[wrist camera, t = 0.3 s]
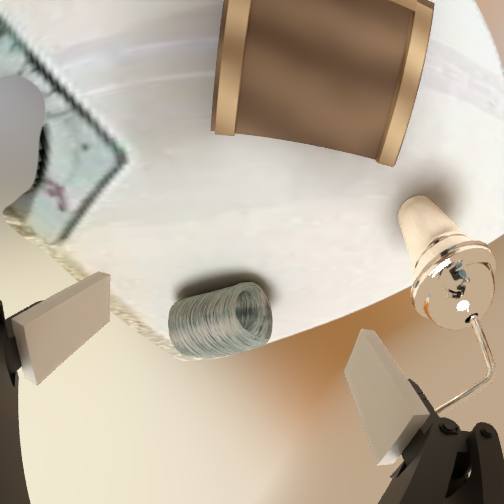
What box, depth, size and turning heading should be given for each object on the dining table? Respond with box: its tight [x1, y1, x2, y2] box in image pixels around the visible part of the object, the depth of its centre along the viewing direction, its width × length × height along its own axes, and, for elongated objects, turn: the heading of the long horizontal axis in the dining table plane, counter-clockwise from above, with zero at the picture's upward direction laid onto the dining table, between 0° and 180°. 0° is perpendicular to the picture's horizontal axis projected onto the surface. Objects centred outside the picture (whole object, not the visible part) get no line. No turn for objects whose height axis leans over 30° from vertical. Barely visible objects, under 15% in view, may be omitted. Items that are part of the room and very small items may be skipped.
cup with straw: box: [397, 195, 496, 416], centre depth 18 cm, size 8×9×20 cm
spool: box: [168, 282, 272, 358], centre depth 34 cm, size 14×10×10 cm
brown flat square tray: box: [211, 0, 434, 167], centre depth 16 cm, size 16×16×2 cm
